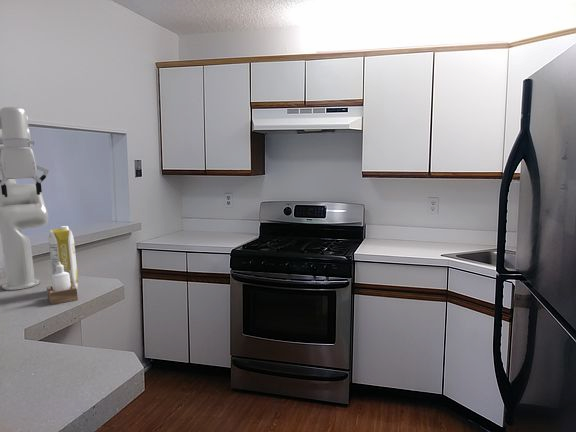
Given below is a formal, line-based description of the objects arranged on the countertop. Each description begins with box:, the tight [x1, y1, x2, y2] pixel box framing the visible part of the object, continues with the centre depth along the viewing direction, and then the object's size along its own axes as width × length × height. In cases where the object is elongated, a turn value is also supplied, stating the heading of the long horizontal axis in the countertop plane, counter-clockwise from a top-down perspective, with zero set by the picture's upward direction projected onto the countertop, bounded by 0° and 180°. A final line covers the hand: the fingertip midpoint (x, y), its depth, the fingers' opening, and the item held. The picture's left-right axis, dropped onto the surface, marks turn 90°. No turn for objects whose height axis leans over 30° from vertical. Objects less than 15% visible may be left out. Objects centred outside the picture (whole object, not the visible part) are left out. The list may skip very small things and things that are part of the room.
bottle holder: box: [46, 283, 79, 306], centre depth 160 cm, size 10×8×4 cm
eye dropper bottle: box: [51, 262, 71, 292], centre depth 159 cm, size 4×6×12 cm
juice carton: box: [48, 225, 79, 289], centre depth 169 cm, size 9×8×24 cm
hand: (22, 195), depth 157 cm, fingers open, 9 cm apart
